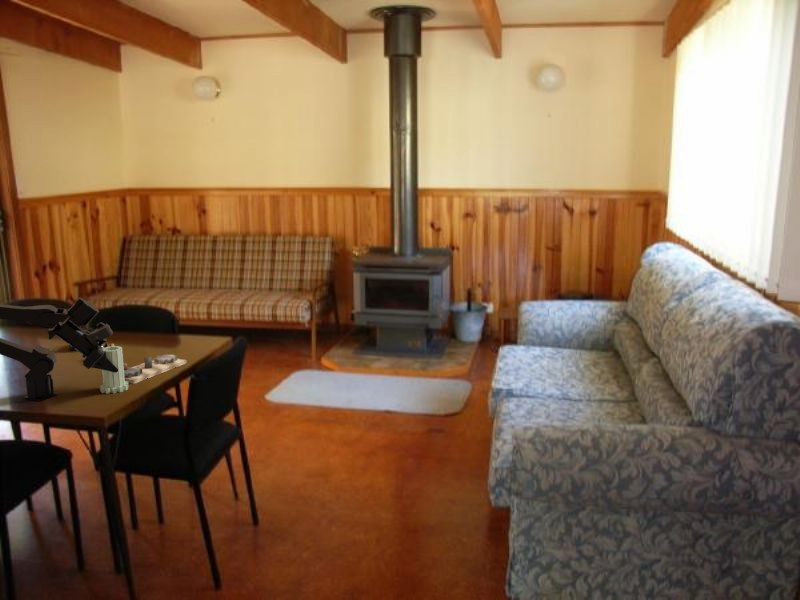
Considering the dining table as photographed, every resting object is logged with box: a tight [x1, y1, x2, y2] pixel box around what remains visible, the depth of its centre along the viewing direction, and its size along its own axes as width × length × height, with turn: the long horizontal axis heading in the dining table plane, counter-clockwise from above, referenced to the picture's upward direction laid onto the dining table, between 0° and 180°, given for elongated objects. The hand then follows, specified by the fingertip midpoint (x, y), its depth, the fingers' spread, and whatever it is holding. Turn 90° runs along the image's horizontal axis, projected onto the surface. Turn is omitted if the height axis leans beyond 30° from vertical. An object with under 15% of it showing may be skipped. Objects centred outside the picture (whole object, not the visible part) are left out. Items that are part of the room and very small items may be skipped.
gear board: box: [123, 353, 188, 385], centre depth 227 cm, size 25×11×5 cm, turn 157°
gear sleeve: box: [99, 345, 130, 395], centre depth 208 cm, size 8×8×13 cm
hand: (117, 368), depth 208 cm, fingers closed on gear sleeve, 6 cm apart
